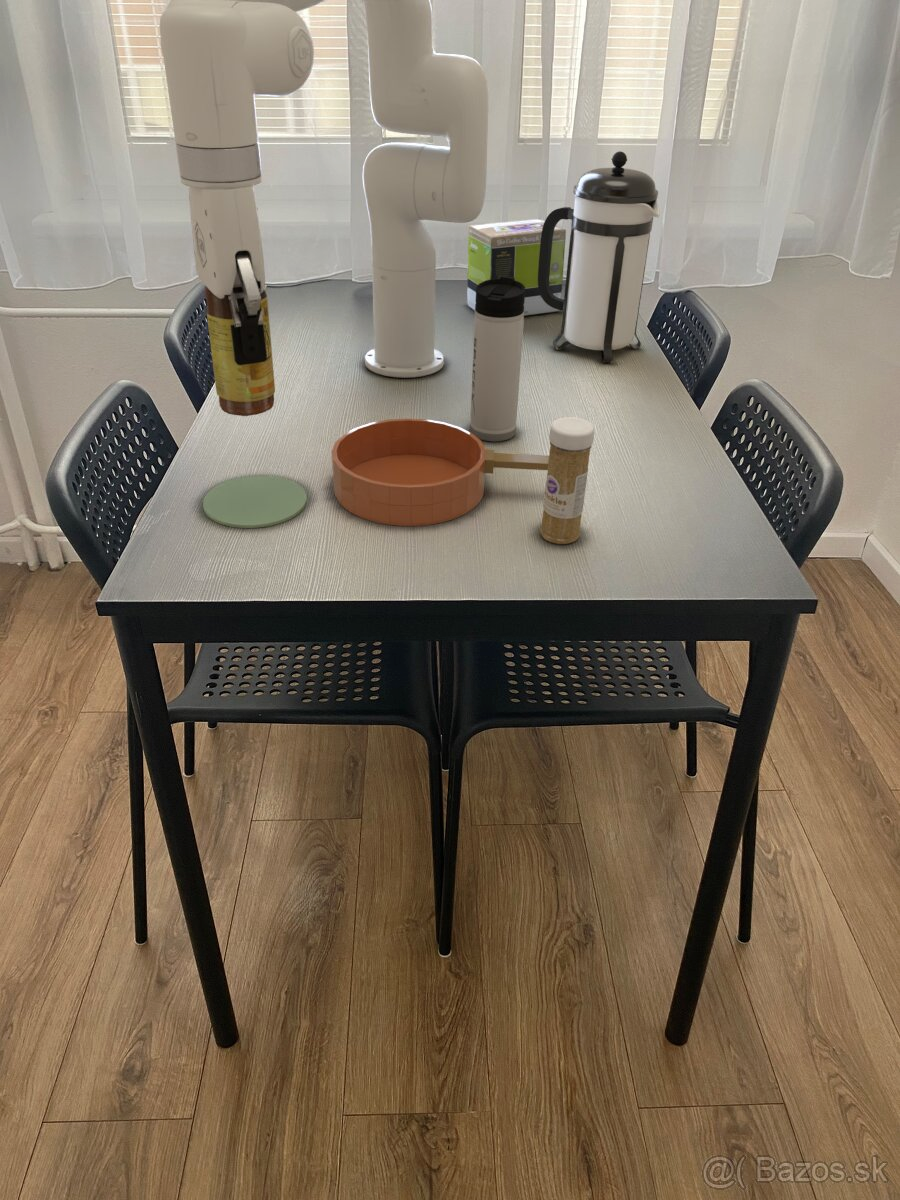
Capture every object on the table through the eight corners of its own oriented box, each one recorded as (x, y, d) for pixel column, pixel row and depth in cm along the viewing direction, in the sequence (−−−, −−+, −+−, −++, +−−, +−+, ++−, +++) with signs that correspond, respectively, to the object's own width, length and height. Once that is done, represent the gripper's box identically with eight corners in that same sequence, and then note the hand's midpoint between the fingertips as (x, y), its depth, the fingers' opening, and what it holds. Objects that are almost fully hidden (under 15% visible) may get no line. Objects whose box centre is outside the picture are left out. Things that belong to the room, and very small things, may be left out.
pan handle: (483, 473, 104) (483, 459, 103) (483, 462, 106) (484, 449, 105) (579, 478, 103) (581, 464, 102) (578, 467, 106) (580, 453, 104)
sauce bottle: (264, 422, 93) (243, 224, 82) (209, 415, 94) (180, 219, 83) (285, 398, 99) (269, 208, 87) (233, 392, 100) (209, 204, 88)
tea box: (535, 297, 171) (541, 216, 162) (561, 313, 164) (569, 229, 155) (465, 305, 166) (467, 222, 157) (488, 322, 158) (492, 235, 150)
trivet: (192, 489, 105) (192, 486, 105) (289, 471, 110) (288, 468, 110) (217, 537, 97) (216, 534, 97) (321, 515, 101) (320, 512, 101)
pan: (313, 469, 110) (310, 433, 107) (444, 444, 117) (444, 409, 114) (367, 539, 97) (366, 499, 94) (510, 506, 104) (513, 468, 101)
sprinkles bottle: (531, 535, 99) (542, 424, 91) (554, 520, 101) (566, 411, 94) (565, 550, 96) (579, 437, 88) (588, 534, 99) (603, 423, 91)
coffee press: (630, 332, 156) (657, 143, 138) (649, 365, 143) (681, 161, 125) (532, 330, 155) (547, 141, 138) (543, 363, 142) (561, 158, 125)
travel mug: (521, 426, 122) (532, 278, 111) (508, 445, 117) (518, 293, 106) (478, 419, 124) (485, 273, 112) (463, 437, 119) (469, 287, 107)
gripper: (160, 151, 87) (187, 330, 98) (201, 184, 75) (227, 385, 85) (235, 148, 90) (253, 322, 101) (287, 179, 78) (302, 374, 88)
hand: (241, 349), depth 93 cm, fingers closed on sauce bottle, 6 cm apart
